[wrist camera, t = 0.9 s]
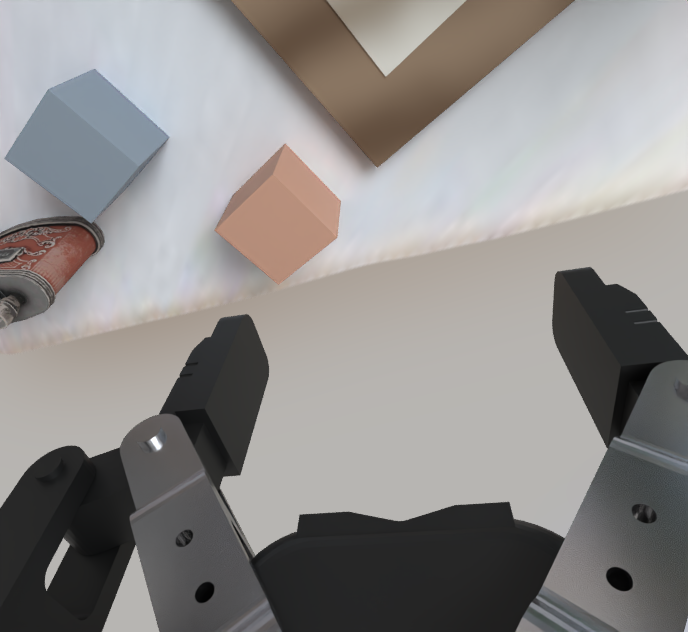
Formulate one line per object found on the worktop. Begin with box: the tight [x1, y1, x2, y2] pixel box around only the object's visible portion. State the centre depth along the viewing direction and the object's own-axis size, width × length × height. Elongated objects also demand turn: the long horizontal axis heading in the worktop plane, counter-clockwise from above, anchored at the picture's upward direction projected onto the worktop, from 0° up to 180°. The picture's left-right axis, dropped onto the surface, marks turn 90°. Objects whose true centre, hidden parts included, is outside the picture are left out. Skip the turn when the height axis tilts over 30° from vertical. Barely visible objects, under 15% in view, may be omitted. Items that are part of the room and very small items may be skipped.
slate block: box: [4, 69, 169, 223], centre depth 26 cm, size 5×5×5 cm
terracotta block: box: [215, 144, 341, 285], centre depth 29 cm, size 5×5×5 cm
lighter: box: [0, 216, 105, 329], centre depth 29 cm, size 8×3×10 cm, turn 102°
